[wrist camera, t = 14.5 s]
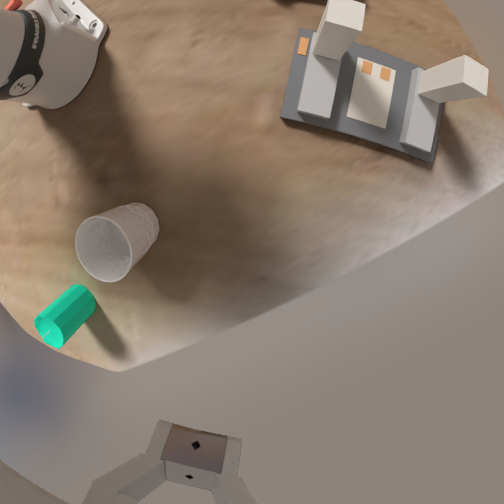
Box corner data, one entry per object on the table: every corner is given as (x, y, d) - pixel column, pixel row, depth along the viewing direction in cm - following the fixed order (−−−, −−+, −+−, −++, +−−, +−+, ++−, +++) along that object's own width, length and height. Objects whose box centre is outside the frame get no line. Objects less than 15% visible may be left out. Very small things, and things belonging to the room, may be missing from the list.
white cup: (140, 262, 42) (108, 294, 32) (105, 223, 40) (65, 247, 31) (175, 227, 40) (145, 254, 30) (136, 185, 38) (96, 200, 29)
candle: (67, 280, 44) (25, 315, 33) (94, 289, 44) (53, 328, 33) (70, 309, 47) (33, 346, 35) (97, 318, 46) (61, 360, 35)
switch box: (427, 162, 33) (439, 164, 30) (280, 117, 34) (280, 115, 30) (441, 81, 29) (454, 77, 26) (298, 31, 29) (300, 21, 26)
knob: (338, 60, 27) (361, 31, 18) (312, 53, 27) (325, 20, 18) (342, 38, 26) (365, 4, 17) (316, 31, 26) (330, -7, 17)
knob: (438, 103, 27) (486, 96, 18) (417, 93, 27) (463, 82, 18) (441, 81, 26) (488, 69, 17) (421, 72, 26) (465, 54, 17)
